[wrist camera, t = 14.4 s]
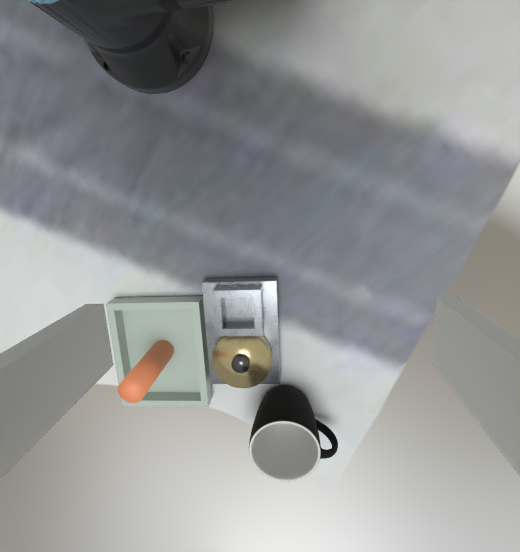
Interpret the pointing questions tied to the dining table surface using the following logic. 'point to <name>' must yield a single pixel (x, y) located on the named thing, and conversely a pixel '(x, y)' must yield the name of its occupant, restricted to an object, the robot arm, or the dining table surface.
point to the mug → (287, 436)
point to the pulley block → (242, 330)
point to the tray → (173, 328)
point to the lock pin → (145, 372)
